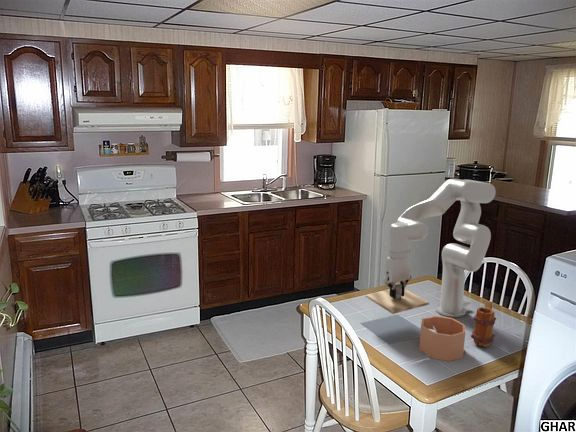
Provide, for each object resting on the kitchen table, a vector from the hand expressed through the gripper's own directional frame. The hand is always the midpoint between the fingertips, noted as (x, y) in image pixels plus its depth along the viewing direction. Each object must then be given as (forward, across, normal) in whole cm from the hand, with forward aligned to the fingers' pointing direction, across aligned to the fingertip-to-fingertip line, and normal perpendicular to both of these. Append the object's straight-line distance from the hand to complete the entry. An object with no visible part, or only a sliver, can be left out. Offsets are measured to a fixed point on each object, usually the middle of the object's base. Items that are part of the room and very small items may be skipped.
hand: (396, 295), depth 191 cm
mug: (+16, -25, +23) cm, 37 cm away
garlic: (+9, -2, +21) cm, 23 cm away
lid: (+2, 0, 0) cm, 2 cm away
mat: (+15, +1, 0) cm, 15 cm away
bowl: (+15, -5, +21) cm, 26 cm away
